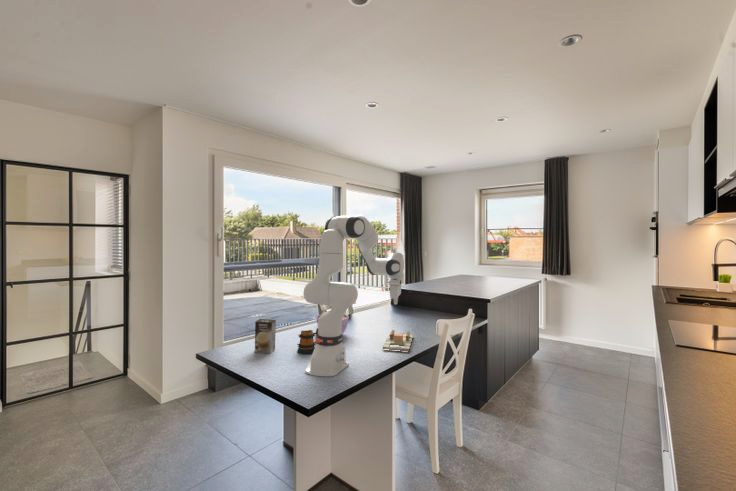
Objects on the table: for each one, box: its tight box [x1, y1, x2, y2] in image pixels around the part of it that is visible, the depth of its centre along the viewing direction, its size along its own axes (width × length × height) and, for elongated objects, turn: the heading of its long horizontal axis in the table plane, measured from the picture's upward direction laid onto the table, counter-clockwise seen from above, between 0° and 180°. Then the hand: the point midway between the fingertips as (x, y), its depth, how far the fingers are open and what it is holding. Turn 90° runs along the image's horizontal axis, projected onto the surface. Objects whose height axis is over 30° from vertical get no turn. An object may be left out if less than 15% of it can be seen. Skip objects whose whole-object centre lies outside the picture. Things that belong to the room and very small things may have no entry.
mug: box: [296, 327, 318, 356], centre depth 178 cm, size 13×10×12 cm
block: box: [394, 332, 404, 343], centre depth 190 cm, size 4×4×4 cm
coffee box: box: [254, 318, 277, 354], centre depth 177 cm, size 9×6×16 cm
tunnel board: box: [382, 329, 414, 352], centre depth 193 cm, size 28×14×5 cm, turn 168°
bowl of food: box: [315, 313, 350, 335], centre depth 207 cm, size 20×20×12 cm
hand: (395, 304), depth 197 cm, fingers closed
